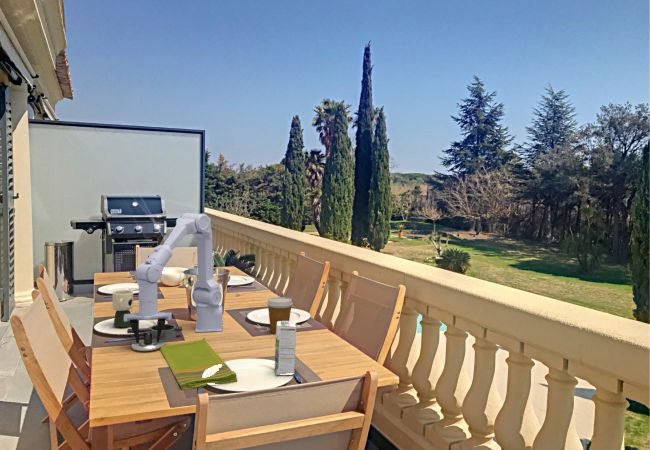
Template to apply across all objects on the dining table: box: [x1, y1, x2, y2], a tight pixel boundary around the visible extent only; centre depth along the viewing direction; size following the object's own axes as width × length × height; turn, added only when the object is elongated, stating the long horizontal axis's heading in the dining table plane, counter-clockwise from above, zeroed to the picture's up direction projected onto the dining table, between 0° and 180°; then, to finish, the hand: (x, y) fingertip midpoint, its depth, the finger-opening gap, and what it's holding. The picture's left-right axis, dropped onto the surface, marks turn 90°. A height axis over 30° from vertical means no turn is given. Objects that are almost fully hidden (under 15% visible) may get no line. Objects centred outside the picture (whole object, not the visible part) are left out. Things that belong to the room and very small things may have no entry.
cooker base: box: [126, 323, 183, 342], centre depth 178 cm, size 18×9×4 cm, turn 104°
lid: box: [131, 331, 165, 352], centre depth 167 cm, size 10×10×5 cm
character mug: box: [112, 289, 134, 329], centre depth 190 cm, size 11×7×13 cm, turn 13°
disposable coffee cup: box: [266, 296, 293, 335], centre depth 189 cm, size 10×10×12 cm
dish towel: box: [159, 337, 238, 390], centre depth 153 cm, size 15×36×3 cm, turn 27°
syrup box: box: [274, 320, 297, 377], centre depth 149 cm, size 6×6×14 cm
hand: (147, 341), depth 167 cm, fingers open, 6 cm apart
